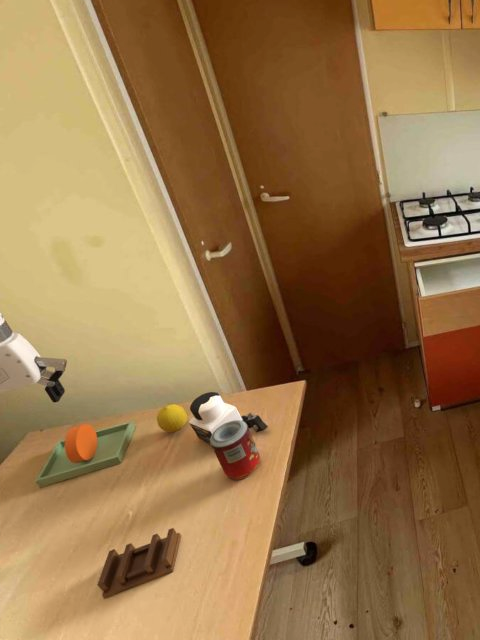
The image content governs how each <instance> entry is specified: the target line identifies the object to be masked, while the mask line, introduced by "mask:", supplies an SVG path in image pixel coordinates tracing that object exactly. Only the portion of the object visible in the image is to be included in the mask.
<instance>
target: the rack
mask: <svg viewBox="0 0 480 640" xmlns="http://www.w3.org/2000/svg"><path fill="white" fill-rule="evenodd" d="M181 537H182V535H181V532H177V531H176V529H175V528H174V527H172V528H169V529H168V531H167V535H166V536H165V537H163V538H161V537H160V535H159V533H155V534H152V536H151V539H150V543H146V544H145V545H142V546H139V547H135V546H134V544H133V543H132V542H130V543H127V544H126V545H125V547H124V551H123V552H122V553H118V551H117V549H115V548H113V549H111V550H109V551H108V553H107V555H106V559H105V561H104V565H103V568H102V570H101V573H100V576H99V578H98V581H97V584H96V585H97V586H98V588H99V589H100V590H101V591H102V594H101V597H102V598H103V599H107V598H110V597H112V596H115V595H117V594H120V593H121V592H122V593H123V592H124V591H128V590H130V589H131V588H132V589H133V588H135V587H138V586H140V585H142V584H146V583H147V582H150V581H152V580H156V579H159V578H160V577H163V576H166V575H169V574H171V573H173V572H174V569H175V566H176V561H177V555H178V551H179V547H180V543H181Z"/></svg>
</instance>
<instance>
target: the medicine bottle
mask: <svg viewBox="0 0 480 640" xmlns="http://www.w3.org/2000/svg"><path fill="white" fill-rule="evenodd" d="M189 411H190V412H191V414H192V415H193V417H192V418H191V419H189V420H188V424H189V425H190V427H191V429H192V430H193V432H194V433H195V434H196V436H197V438H198V439H199V441H201V442H203V443H206V444H208V445H209V446H211V444H210V438H211V435H212V434H213V432H214V431H215V430H216V429H217V428H218V427H220V426H221V425H223V424H225V423H227V422H230V421H235V420H240V421H242V418H241V416H242V415H241V414H240V412H239V411H238V408H237V407H236V406H234V405H232V404H230V403H227V402H225V401H224V400H223V398H222V396H221V395H220V393H219V392H216V391H208V392H205V393H203V394H200V395H198V396H197V397H196V398H195V399H194V400H193V401H192V402H191V404H190V406H189Z"/></svg>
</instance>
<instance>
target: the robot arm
mask: <svg viewBox="0 0 480 640" xmlns="http://www.w3.org/2000/svg"><path fill="white" fill-rule="evenodd" d="M67 364H68V360H67V359H65V358H54V357H42V356H41V355H40V353H39V352H38V351H37V350H36V348H35V347H33V345H32V344H31V343H30V342H29V341H28V340H27V338H25V337H24V336H23V335H22V334H20V333H19V332H14V331H13V330H12V328H11V327H10V325H9V324H8V322H7V320H6V319H5V318H4V315H3V314H2V313H1V312H0V394H2V393H6V392H10V391H15V390H19V389H23V388H29V387H31V386H34V385H36V384H39V385H42V386H45V387H44V391H45V392H46V394H47V396H48V397H49V398H50V400H51V402H52V403H58V402H60V400H61V399H62V397H63V396H64V394H65V392H66V391H65V388H64V386H63V384H62V383H61V381H60V380H59V379H60V378H62V376H63V375H64V373H65V371H66V367H67ZM48 368H53V369H54V371H52V370H48Z"/></svg>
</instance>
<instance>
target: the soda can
mask: <svg viewBox="0 0 480 640" xmlns="http://www.w3.org/2000/svg"><path fill="white" fill-rule="evenodd" d="M210 444H211V445H210ZM210 444H209V445H210V446H211V448H212V450H213V452H214V454H215V457H216V458H217V461H218V462H219V465H220V467H221V469H222V470H223V474H225V475H226V476H227V477H229V478H231V479H233V480H242V479H246V478H247V477H249V476H250V475H252V474H253V473H254V472H255V471H256V469H258V467H259V462H260V458H261V457H260V452H259V449H258V447H257V444H256V442H255V440H254V438H253V434H252V432H251V430H250V429H249V428H248V425H247V424H246V423H245V422H244V421H240V420H235V421H230V422H227V423H225V424H223V425H221V426H220V427H218V428H217V429H216V430H215V431H214V432H213V434H212V435H211V438H210Z"/></svg>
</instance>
